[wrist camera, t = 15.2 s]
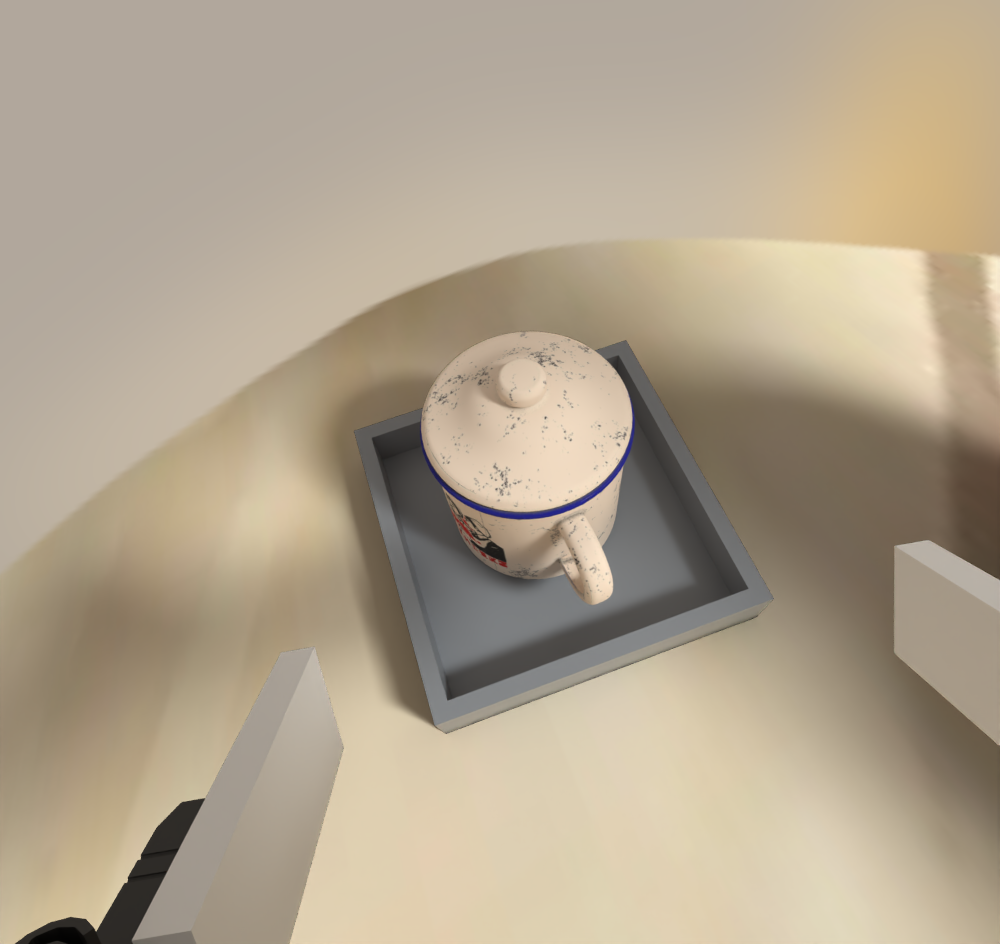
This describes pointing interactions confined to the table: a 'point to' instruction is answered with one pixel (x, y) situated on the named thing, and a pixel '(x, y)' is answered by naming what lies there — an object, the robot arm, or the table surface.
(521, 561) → the teacup with lid
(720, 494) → the table surface
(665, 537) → the tray
